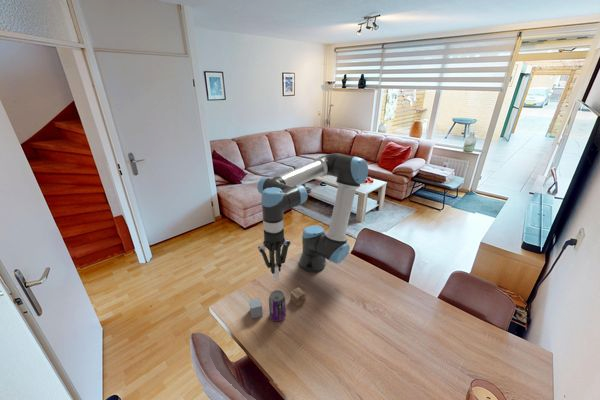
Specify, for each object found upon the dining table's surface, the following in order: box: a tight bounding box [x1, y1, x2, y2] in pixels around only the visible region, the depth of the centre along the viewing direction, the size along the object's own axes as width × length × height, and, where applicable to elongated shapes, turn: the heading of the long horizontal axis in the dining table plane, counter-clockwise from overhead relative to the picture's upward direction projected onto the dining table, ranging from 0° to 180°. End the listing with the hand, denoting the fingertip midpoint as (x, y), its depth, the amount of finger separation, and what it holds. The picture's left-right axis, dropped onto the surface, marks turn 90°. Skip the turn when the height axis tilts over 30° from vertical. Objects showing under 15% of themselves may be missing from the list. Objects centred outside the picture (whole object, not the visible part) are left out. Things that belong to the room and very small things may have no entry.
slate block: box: [248, 297, 264, 319], centre depth 114 cm, size 5×5×6 cm
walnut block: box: [289, 287, 306, 307], centre depth 121 cm, size 5×5×5 cm
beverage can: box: [268, 289, 287, 322], centre depth 111 cm, size 7×7×12 cm
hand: (276, 278), depth 105 cm, fingers closed
